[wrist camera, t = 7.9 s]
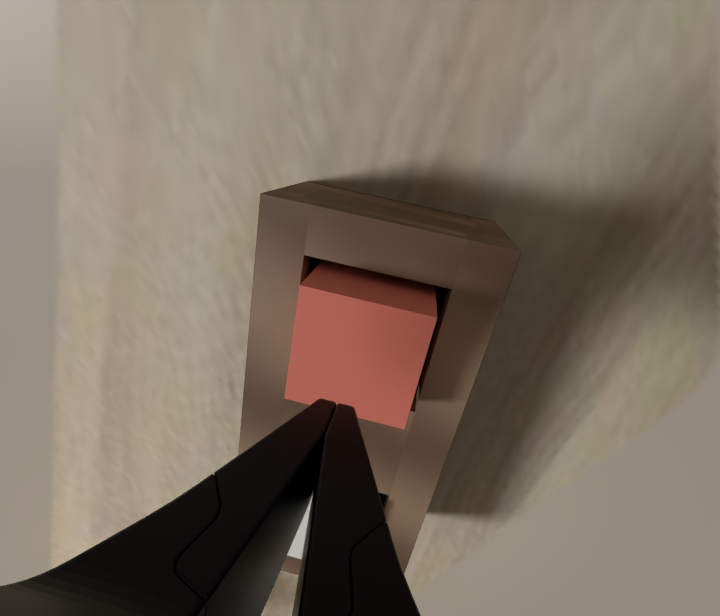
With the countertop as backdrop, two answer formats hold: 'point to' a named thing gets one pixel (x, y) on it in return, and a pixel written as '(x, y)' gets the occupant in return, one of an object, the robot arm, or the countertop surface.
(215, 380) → the countertop surface
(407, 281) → the red plug
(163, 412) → the countertop surface
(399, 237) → the socket block
